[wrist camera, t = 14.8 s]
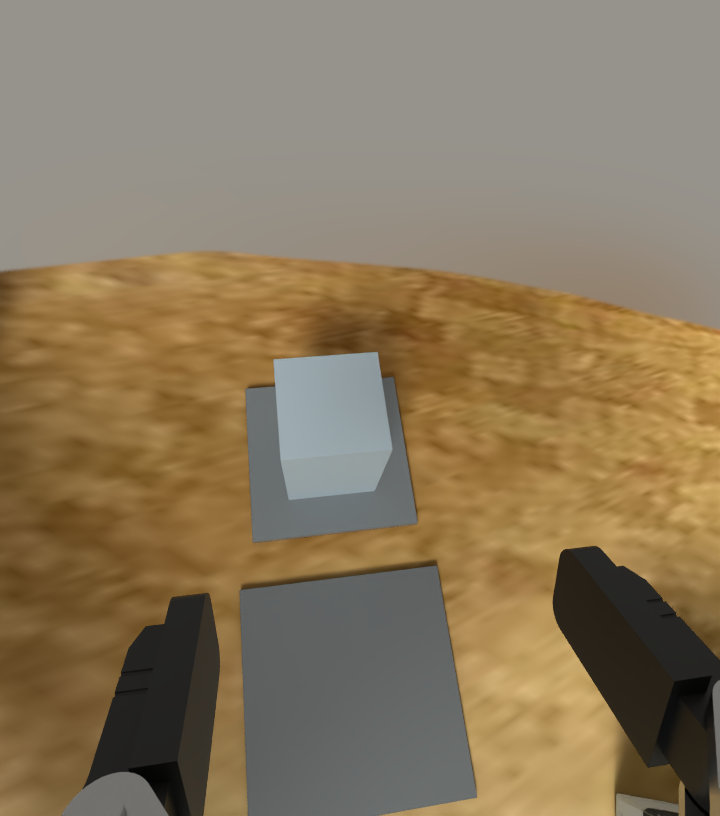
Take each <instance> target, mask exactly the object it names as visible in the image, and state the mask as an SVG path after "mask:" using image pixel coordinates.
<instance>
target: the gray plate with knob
mask: <svg viewBox="0 0 720 816" xmlns="http://www.w3.org/2000/svg"><path fill="white" fill-rule="evenodd" d="M382 384H383V391H384V397H385V404H386V410H387V417H388V423H389V430H390V436H391V442H392V449H393V450H392V452H391V455H390V457H389V459H388V461H387V464H386V466H385V468H384V471H383V473H382V475H381V477H380V480H379V482H378V484H377V487H376V489H375V491H370V492H361V493H351V494H342V495H332V496H323V497H313V498H304V499H294V500H289V499H288V494H287V489H286V484H285V479H284V474H283V470H282V465H281V459H280V444H279V430H278V416H277V402H276V388H275V387H262V388H250V389H245V390H246V411H247V431H248V452H249V473H250V494H251V514H252V535H253V543H260V542H268V541H277V540H286V539H295V538H303V537H312V536H321V535H329V534H338V533H347V532H356V531H364V530H373V529H382V528H390V527H399V526H408V525H416V524H417V523H418V522H417V516H416V510H415V504H414V498H413V492H412V486H411V479H410V473H409V467H408V461H407V455H406V449H405V443H404V437H403V431H402V425H401V419H400V413H399V407H398V401H397V395H396V389H395V383H394V377H387V378H382Z"/></svg>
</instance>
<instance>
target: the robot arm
mask: <svg viewBox="0 0 720 816" xmlns="http://www.w3.org/2000/svg"><path fill="white" fill-rule="evenodd" d="M553 611H554V615H555V619H556V621H557V624H558V626H559V628H560V630H561V631H562V633H563V634H564V636H565V638H566V639H567V641H568V642H569V644H570V645H571V647H572V649H573V650H574V652H575V653H576V655H577V657H578V658H579V660H580V661H581V663H582V664H583V666H584V668H585V669H586V671H587V672H588V674H589V676H590V677H591V679H592V680H593V682H594V683H595V685H596V687H597V688H598V690H599V691H600V693H601V695H602V696H603V698H604V699H605V701H606V702H607V704H608V706H609V707H610V709H611V710H612V712H613V714H614V715H615V717H616V718H617V720H618V721H619V723H620V725H621V726H622V728H623V729H624V731H625V732H626V734H627V736H628V737H629V739H630V740H631V742H632V744H633V745H634V747H635V748H636V750H637V751H638V753H639V755H640V756H641V758H642V759H643V761H644V763H645V764H646V766H647V767H648V768H649V767H655V766H660V765H666V764H670V765H671V766H672V768H673V769H674V771H675V772H676V774H677V775H678V777H679V778H680V780H681V781H680V784H679V816H720V660H719V659H718V658H717V657H716V656H715V655H714V653H713V652H712V651H711V650H710V649H709V648H708V647H707V646H706V645H705V644H704V643H703V642H702V640H701V639H700V638H699V637H698V636H697V635H696V634H695V633H694V632H693V631H692V630H691V629H690V627H689V626H688V625H687V624H686V623H685V622H684V621H683V620H682V619H681V618H680V617H677V616H676V612H675V611H674V610H673V609H672V608H671V607H670V606H669V605H668V604H667V603H666V602H663V600H662V597H661V596H660V595H659V594H658V593H657V592H656V591H655V590H654V588H653V587H652V586H651V585H650V584H649V583H648V582H647V581H646V580H645V579H643V578H642V577H640V576H638V575H637V574H635V573H634V572H632V571H631V570H629V569H628V568H626V567H624V566H618V567H616V565H615V564H614V563H613V562H612V561H611V560H610V559H609V557H608V556H607V555H606V554H605V553H604V552H603V551H602V550H601V549H600V548H599V547H597V546H590V547H581V548H573V549H565V550H563V551H562V552H561V554H560V558H559V564H558V570H557V577H556V583H555V589H554V595H553ZM219 672H220V655H219V644H218V638H217V633H216V627H215V621H214V616H213V610H212V604H211V599H210V595H209V594H208V593H202V594H194V595H186V596H177V597H172V599H171V601H170V604H169V608H168V612H167V616H166V620H165V624H161V625H153V626H146V627H145V628H144V629H143V631H142V632H141V633H140V634H139V636H138V637H137V638H136V640H135V641H134V642H133V643H132V645H131V646H130V647H129V649H128V652H127V655H126V658H125V662H124V665H123V668H122V671H121V677H120V678H119V681H118V684H117V687H116V690H115V697H113V700H112V703H111V706H110V709H109V713H108V716H107V719H106V722H105V725H104V728H103V732H102V735H101V738H100V741H99V744H98V748H97V751H96V754H95V757H94V760H93V763H92V767H91V770H90V773H89V776H88V778H87V781H86V783H85V785H84V787H83V789H82V791H80V792H79V793H78V794H77V795H76V796H75V797H74V798H73V799H72V801H71V802H70V803H69V804H68V806H67V807H66V808H65V810H64V812H63V813H62V815H61V816H203V814H204V805H205V796H206V787H207V779H208V770H209V761H210V752H211V744H212V735H213V726H214V717H215V709H216V700H217V691H218V682H219Z"/></svg>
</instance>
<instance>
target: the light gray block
mask: <svg viewBox="0 0 720 816" xmlns="http://www.w3.org/2000/svg"><path fill="white" fill-rule="evenodd" d="M273 360H274V374H275V388H276V402H277V416H278V430H279V444H280V459H281V465H282V470H283V474H284V479H285V484H286V489H287V494H288V499H289V500H294V499H304V498H313V497H323V496H332V495H342V494H351V493H361V492H370V491H375V489H376V487H377V484H378V482H379V480H380V477H381V475H382V473H383V471H384V468H385V466H386V464H387V461H388V459H389V457H390V455H391V452H392V450H393V449H392V442H391V436H390V430H389V423H388V417H387V410H386V404H385V397H384V391H383V384H382V378H381V371H380V365H379V358H378V352H369V353H355V354H342V355H328V356H314V357H301V358H287V359H273Z"/></svg>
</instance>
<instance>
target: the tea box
mask: <svg viewBox="0 0 720 816" xmlns="http://www.w3.org/2000/svg"><path fill="white" fill-rule="evenodd" d="M616 816H679V804H674V803H669V802H664V801H658V800H653V799H647V798H640V797H635V796H630V795H625V794H618V793H617V795H616Z"/></svg>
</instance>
